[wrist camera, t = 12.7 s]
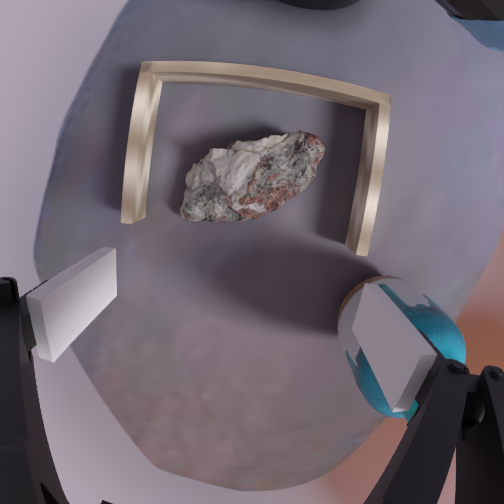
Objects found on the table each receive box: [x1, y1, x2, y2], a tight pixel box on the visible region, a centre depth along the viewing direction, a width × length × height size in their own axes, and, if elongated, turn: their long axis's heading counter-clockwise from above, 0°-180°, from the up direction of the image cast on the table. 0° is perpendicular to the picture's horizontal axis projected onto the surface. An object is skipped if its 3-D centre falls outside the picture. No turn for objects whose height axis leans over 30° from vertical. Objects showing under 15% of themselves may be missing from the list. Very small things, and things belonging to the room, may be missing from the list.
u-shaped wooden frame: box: [121, 61, 391, 256], centre depth 28 cm, size 16×24×4 cm
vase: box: [337, 276, 466, 422], centre depth 25 cm, size 11×11×19 cm
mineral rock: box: [180, 130, 325, 223], centre depth 29 cm, size 15×8×4 cm, turn 100°
